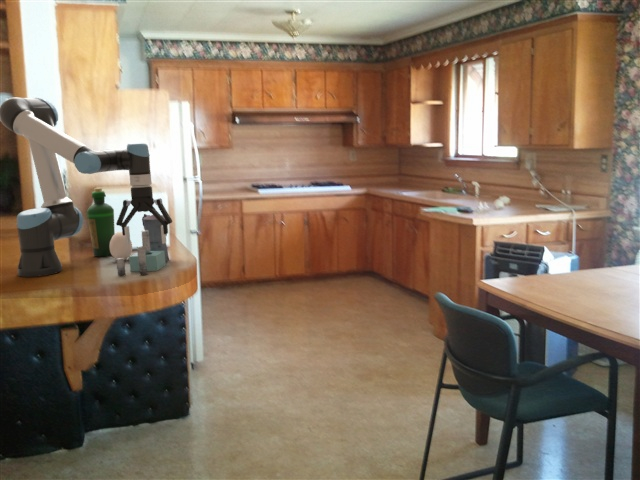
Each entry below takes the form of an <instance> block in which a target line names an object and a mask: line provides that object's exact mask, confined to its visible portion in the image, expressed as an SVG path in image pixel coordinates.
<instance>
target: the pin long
mask: <svg viewBox="0 0 640 480" xmlns="http://www.w3.org/2000/svg"><path fill="white" fill-rule="evenodd" d="M140 233H141V241H142V242H141V244H142V246H145V255H147V254H151V252H150V241H149V231H148V230H144V229H143V230H141V231H140Z"/></svg>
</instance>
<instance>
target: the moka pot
mask: <svg viewBox="0 0 640 480" xmlns="http://www.w3.org/2000/svg"><path fill="white" fill-rule="evenodd" d="M160 215H161V214H160ZM161 216H162V217H163V218H164V216H163V215H161ZM164 219H165V218H164ZM141 222H142V226H143V231H144V230H148V231H149V241H150V251H165V263H166V262H169V260H170V257H169V253H168V252H169V251H168V248H167V242H166V243H164V244H162V236H161V226H162V224H161V223H160V222H159V220H158V219H157V218H156V217H155V216H154V215H153V214H151V215H150V214H146V213H144V214H143V216H142V217H141ZM166 237H168V234H166Z"/></svg>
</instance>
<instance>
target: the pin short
mask: <svg viewBox="0 0 640 480" xmlns="http://www.w3.org/2000/svg"><path fill="white" fill-rule="evenodd" d="M115 260H116V269H117V276H118V277H123V276H124V275H125V276H126V265H125V260H124V258H118V259H115Z"/></svg>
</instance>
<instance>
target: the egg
mask: <svg viewBox="0 0 640 480" xmlns="http://www.w3.org/2000/svg"><path fill="white" fill-rule="evenodd" d="M109 247H110V252H111V256H112V257H113V258H114V259H115V260H116V259H118V258H124V261H125V260H127V259H128V258H129V256H131V254H132V253H133V243H132V240H131V239H130V244H128V245H126V240H125V235H124V236H123V234H122V231H118V232H116V233H115V234H114V235H113V237H112V238H111V241H110V245H109Z"/></svg>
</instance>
